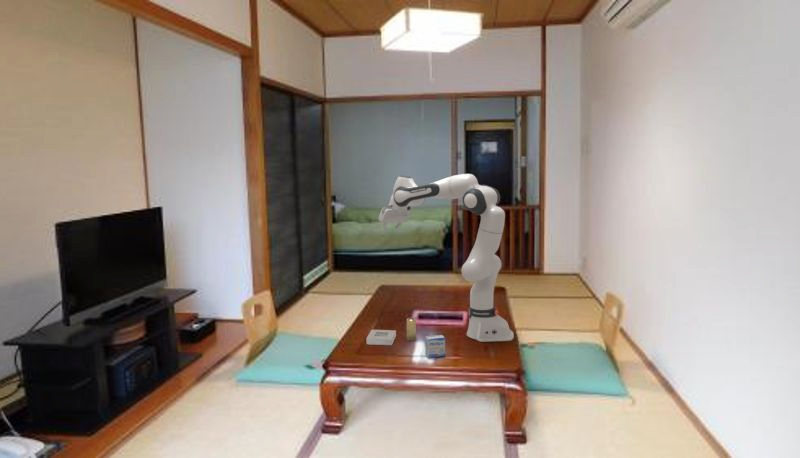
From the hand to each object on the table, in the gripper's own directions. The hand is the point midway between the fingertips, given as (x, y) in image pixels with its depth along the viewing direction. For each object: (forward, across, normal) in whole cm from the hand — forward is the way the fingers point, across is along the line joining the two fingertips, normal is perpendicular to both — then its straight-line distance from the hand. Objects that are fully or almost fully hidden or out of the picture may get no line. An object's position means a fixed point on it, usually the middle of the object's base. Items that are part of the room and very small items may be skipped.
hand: (390, 229), depth 291 cm
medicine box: (+32, -25, -66) cm, 77 cm away
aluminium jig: (+41, -26, -36) cm, 61 cm away
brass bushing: (+37, -16, -45) cm, 61 cm away
